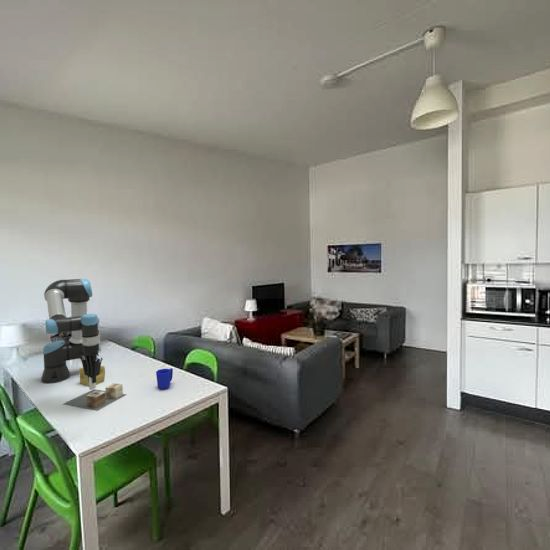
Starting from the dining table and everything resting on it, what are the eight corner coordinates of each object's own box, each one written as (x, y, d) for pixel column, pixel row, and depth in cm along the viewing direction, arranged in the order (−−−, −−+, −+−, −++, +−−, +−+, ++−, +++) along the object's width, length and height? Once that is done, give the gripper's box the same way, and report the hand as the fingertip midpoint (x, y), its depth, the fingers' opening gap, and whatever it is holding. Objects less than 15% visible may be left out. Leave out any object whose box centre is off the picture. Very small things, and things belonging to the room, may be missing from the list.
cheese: (88, 387, 194) (87, 371, 193) (79, 383, 200) (78, 367, 199) (105, 381, 203) (105, 365, 202) (96, 378, 208) (95, 363, 208)
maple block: (105, 398, 178) (105, 387, 178) (112, 393, 184) (112, 383, 183) (116, 399, 177) (115, 388, 177) (122, 394, 183) (122, 383, 183)
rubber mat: (61, 404, 171) (61, 404, 171) (94, 389, 190) (94, 389, 190) (97, 411, 164) (97, 410, 164) (127, 395, 183) (127, 394, 183)
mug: (178, 383, 199) (177, 367, 198) (165, 391, 188) (164, 374, 187) (166, 381, 202) (166, 365, 201) (153, 389, 190) (152, 372, 190)
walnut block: (95, 396, 166) (96, 408, 167) (105, 392, 172) (105, 403, 172) (86, 395, 168) (87, 406, 168) (96, 390, 174) (96, 401, 174)
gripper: (74, 345, 167) (76, 389, 169) (94, 347, 163) (96, 393, 165) (87, 341, 175) (89, 384, 176) (106, 343, 170) (108, 387, 172)
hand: (92, 388), depth 171 cm, fingers closed
